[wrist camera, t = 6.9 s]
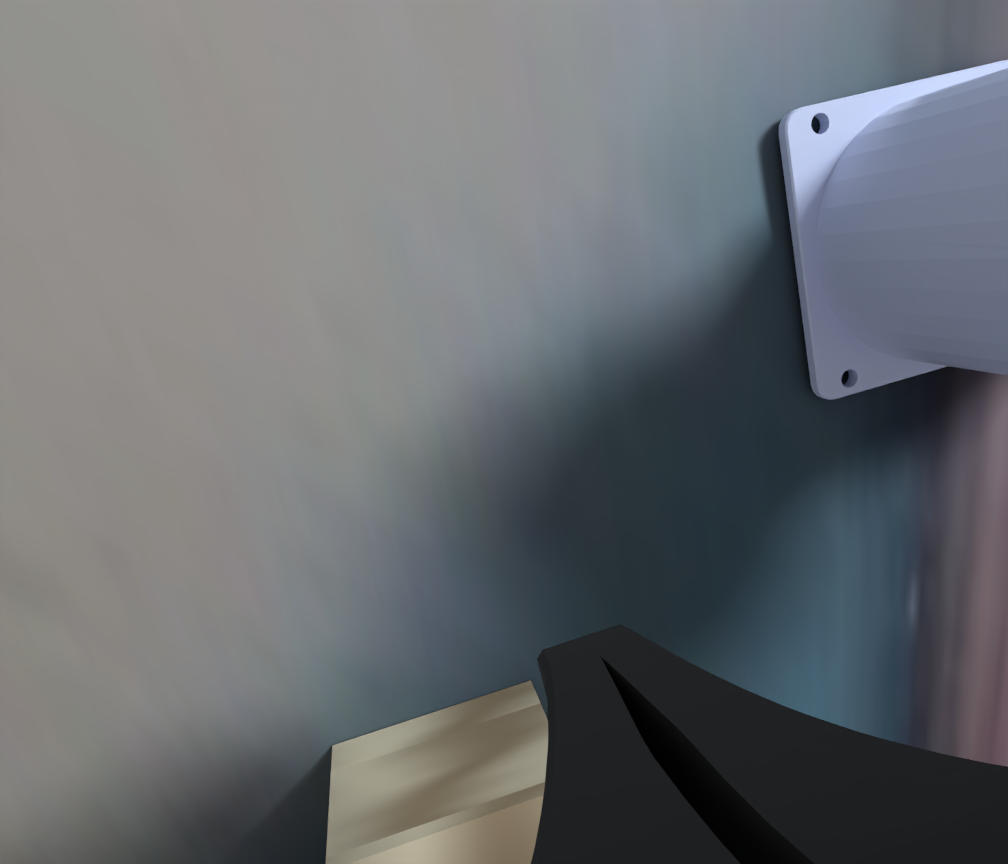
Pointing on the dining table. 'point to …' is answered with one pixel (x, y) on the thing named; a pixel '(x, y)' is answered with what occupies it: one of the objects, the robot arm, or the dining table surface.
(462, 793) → the hitch block
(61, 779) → the dining table surface
